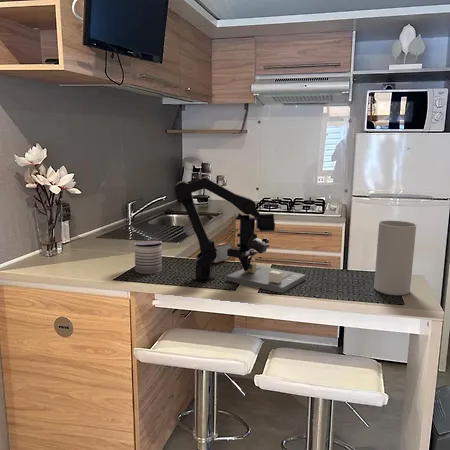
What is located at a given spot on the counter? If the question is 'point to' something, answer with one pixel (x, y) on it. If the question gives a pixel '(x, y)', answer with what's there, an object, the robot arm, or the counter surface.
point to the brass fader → (251, 268)
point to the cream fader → (275, 276)
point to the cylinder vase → (394, 257)
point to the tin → (222, 252)
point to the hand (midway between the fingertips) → (246, 270)
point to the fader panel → (266, 279)
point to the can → (148, 257)
